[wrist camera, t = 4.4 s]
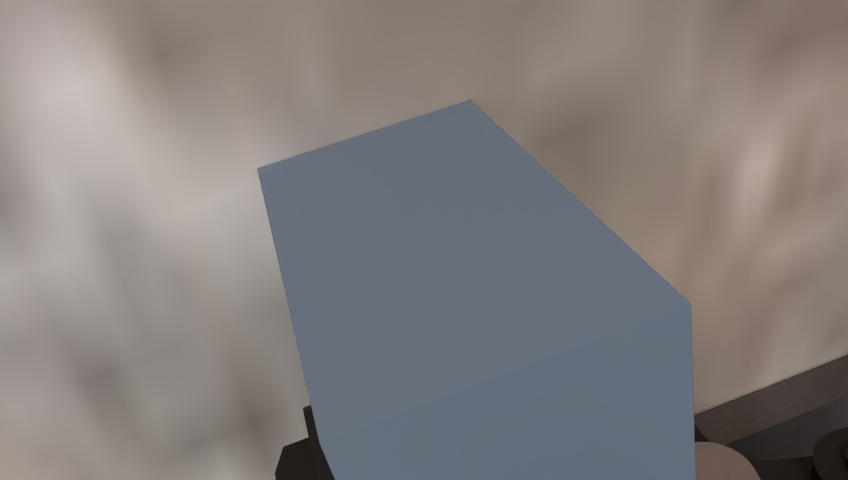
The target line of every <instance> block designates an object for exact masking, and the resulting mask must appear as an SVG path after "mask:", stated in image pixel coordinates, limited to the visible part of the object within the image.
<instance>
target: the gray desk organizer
mask: <svg viewBox="0 0 848 480" xmlns="http://www.w3.org/2000/svg"><path fill="white" fill-rule="evenodd" d="M694 424H695V426H696V427H697V428H698V429H699V430H700V431H701V432H702V434H703V435H704V436H705V437H706V438H707V439H708V440H709V441H710V442H712V443H717V444H721V445H724V446H727V447H729V448H732V449H733V450H735V451H737V452H739V453H740V454H741V455H743V456H744V457H745V458H748V459H754V460H774V459H785V458H797V457H808V456H813V449H814V447H815V444H816V443H817V442H818V440H819V439H820V438H821V437H822V436H824V435H825V434H827V433H829V432H831V431H834V430H837V429H841V428H848V355H847V356H844V357H842V358H839V359H837V360H834V361H832V362H829V363H827V364H824V365H822V366H819V367H817V368H814V369H812V370H809V371H807V372H804V373H801V374H799V375H796V376H794V377H791V378H789V379H786V380H784V381H781V382H779V383H776V384H774V385H771V386H769V387H766V388H764V389H761V390H759V391H756V392H754V393H751V394H748V395H746V396H743V397H741V398H738V399H736V400H733V401H731V402H728V403H726V404H723V405H721V406H718V407H716V408H713V409H711V410H708V411H706V412H703V413H700V414H698V415H695V416H694Z"/></svg>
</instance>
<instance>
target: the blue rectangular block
mask: <svg viewBox="0 0 848 480" xmlns="http://www.w3.org/2000/svg"><path fill="white" fill-rule="evenodd" d="M257 170H258V174H259V179H260V183H261V187H262V192H263V196H264V201H265V205H266V209H267V214H268V218H269V223H270V227H271V231H272V236H273V240H274V245H275V249H276V253H277V258H278V262H279V267H280V271H281V275H282V280H283V284H284V289H285V293H286V297H287V302H288V306H289V311H290V315H291V319H292V324H293V328H294V333H295V337H296V341H297V346H298V350H299V355H300V359H301V363H302V368H303V372H304V377H305V381H306V385H307V390H308V394H309V399H310V403H311V407H312V412H313V416H314V421H315V425H316V429H317V434H318V438H319V443H320V445H321V448H322V450H323V452H324V455H325V457H326V460H327V462H328V464H329V467H330V469H331V472H332V474H333V476H334V479H335V480H696V476H695V438H694V401H693V363H692V326H691V303H690V302H688V301H687V300H686V299H685V298H684V297H683V296H682V295H681V294H680V293H679V292H678V291H677V290H675V289H674V288H673V287H672V286H671V285H670V284H669V283H668V282H667V281H666V280H665V279H664V278H662V277H661V276H660V275H659V274H658V273H657V272H656V271H655V270H654V269H653V268H652V267H651V266H649V265H648V264H647V263H646V262H645V261H644V260H643V259H642V258H641V257H640V256H639V255H638V254H637V253H635V252H634V251H633V250H632V249H631V248H630V247H629V246H628V245H627V244H626V243H625V242H624V241H622V240H621V239H620V238H619V237H618V236H617V235H616V234H615V233H614V232H613V231H612V230H611V229H609V228H608V227H607V226H606V225H605V224H604V223H603V222H602V221H601V220H600V219H599V218H598V217H596V216H595V215H594V214H593V213H592V212H591V211H590V210H589V209H588V208H587V207H586V206H585V205H584V204H582V203H581V202H580V201H579V200H578V199H577V198H576V197H575V196H574V195H573V194H572V193H571V192H569V191H568V190H567V189H566V188H565V187H564V186H563V185H562V184H561V183H560V182H559V181H558V180H556V179H555V178H554V177H553V176H552V175H551V174H550V173H549V172H548V171H547V170H546V169H545V168H543V167H542V166H541V165H540V164H539V163H538V162H537V161H536V160H535V159H534V158H533V157H532V156H530V155H529V154H528V153H527V152H526V151H525V150H524V149H523V148H522V147H521V146H520V145H519V144H518V143H516V142H515V141H514V140H513V139H512V138H511V137H510V136H509V135H508V134H507V133H506V132H505V131H503V130H502V129H501V128H500V127H499V126H498V125H497V124H496V123H495V122H494V121H493V120H492V119H490V118H489V117H488V116H487V115H486V114H485V113H484V112H483V111H482V110H481V109H480V108H479V107H477V106H476V105H475V104H474V103H473V102H472V101H471V100H470V101H467V102H464V103H461V104H458V105H455V106H452V107H448V108H445V109H442V110H439V111H436V112H433V113H430V114H427V115H423V116H420V117H417V118H414V119H411V120H408V121H405V122H402V123H399V124H395V125H392V126H389V127H386V128H383V129H380V130H377V131H374V132H371V133H367V134H364V135H361V136H358V137H355V138H352V139H349V140H346V141H342V142H339V143H336V144H333V145H330V146H327V147H324V148H321V149H318V150H314V151H311V152H308V153H305V154H302V155H299V156H296V157H293V158H289V159H286V160H283V161H280V162H277V163H274V164H271V165H268V166H265V167H261V168H258V169H257Z"/></svg>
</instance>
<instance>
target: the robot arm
mask: <svg viewBox="0 0 848 480" xmlns="http://www.w3.org/2000/svg"><path fill="white" fill-rule="evenodd" d="M303 411H304V416H305V421H306V426H307V430H308V435H309V438H306V439H303V440H301V441H298V442H295V443H293V444H290V445H287V446H285V447H283V450H282V453H281V456H280V459H279V462H278V466H277V469H276V472H275V476H276V480H335V479H334V476H333V474H332V472H331V469H330V467H329V464H328V462H327V460H326V457H325V455H324V452H323V450H322V448H321V445H320V443H319V438H318V434H317V429H316V425H315V421H314V416H313V412H312V407H311V405H309V406H307V407H304V408H303ZM694 438H695V476H696V480H848V428H841V429H837V430H834V431H831V432H829V433H827V434H825V435H824V436H822V437H821V438H820V439H819V440H818V442H817V443H816V444H815V447H814V449H813V456H808V457H797V458H785V459H774V460H754V459H748V458H745V457H744V456H743V455H741V454H740V453H739V452H737V451H735V450H733V449H732V448H729V447H727V446H724V445H721V444H717V443H712V442H710V441H709V440H708V439H707V438H706V437H705V436H704V435H703V434H702V432H701V431H700V430H699V429H698V428H697V427H696V426H695V424H694Z"/></svg>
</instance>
